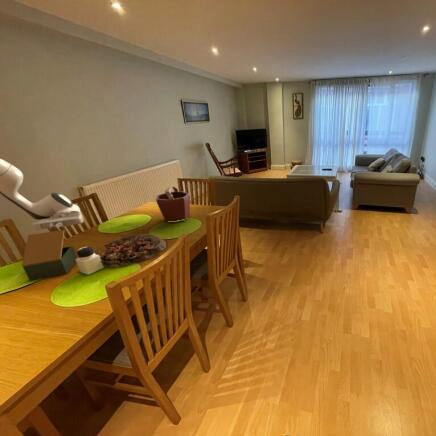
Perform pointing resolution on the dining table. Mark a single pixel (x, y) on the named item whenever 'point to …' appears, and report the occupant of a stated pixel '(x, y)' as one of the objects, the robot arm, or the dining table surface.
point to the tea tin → (52, 266)
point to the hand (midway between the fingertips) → (53, 227)
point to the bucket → (174, 204)
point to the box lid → (43, 247)
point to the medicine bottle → (88, 260)
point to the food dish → (131, 250)
